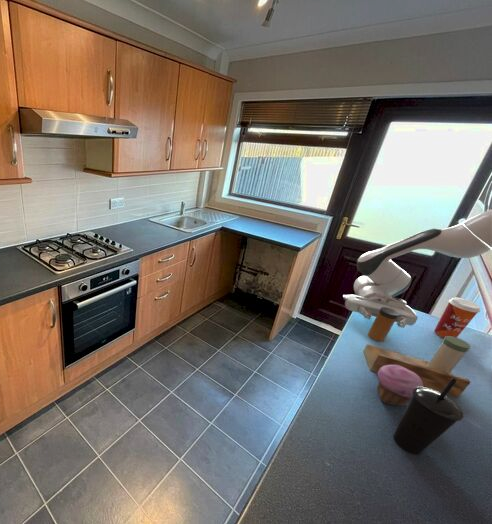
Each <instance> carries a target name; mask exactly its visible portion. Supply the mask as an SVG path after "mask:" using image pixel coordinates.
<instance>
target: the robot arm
mask: <svg viewBox="0 0 492 524" xmlns="http://www.w3.org/2000/svg"><path fill="white" fill-rule="evenodd" d="M416 250H428V251H433V252H436V253H439V254H442V255H445V256H447V257H452V258H456V259H470V258H476V257H478V256H481V255H484V254H485V253H488V252H490V251H492V208H491V209H488V210H486V211H484V212H481V213H479V214H477V215H474V216H472V217H470V218H468V219H466V220H464V221H462V222H461V223H458V224H455V225H453V226H451V227H450V226H449V227H447V228H441V229H438V228H429V229H426V230H423V231H420V232H417V233H414V234H412V235H408V236H406V237H405V238H402V239H400V240H397V241H394V242H392V243H390V244H387V245H385V246H382V247H380V248H376V249H373V250H369V251H367V252H365V253H363V254H361V255H360V256H359V257H358V258H357V261H356V270H357V271H358V272H359V273H361V274H362V275H361V276H359V277H358V278H356V279H355V281H354V283H353V292H354V294H351V293H350V294H343V295H342V298H343V300H344V308H345V309H347V310H348V311H351V312H355V313H359V314H360V315H361V316H363V318H364V319H368V320H371V318H372V317H374V318H376V317H377V315H378V313H379V311H380V309H381V308H382V307H386V308H390V309H393V310H395V311H396V312H398V313H399V315H398V317H397V319H396V320H395V322H394V323H396V325H397V328H398V327H399V328H402V329H403V328H405V327H406V326H409V327H412V326H414V325H415V324H416V323H417V321H418V315H417V314H416V312H415V311H414V310H413V308H411V307H410V306H409V305H407V304H408V303H407V301H406V300H404V299H402V298H399V297H397V296H400V295H402V294H403V293H406V291H407V290H408V289H409V288H410V286H411V283H412V276H411V275H410V274H409V273H407V271H405V270H404V269H403V268H401V266H399V265H398V264H396V263H395V262H394V261H393V260H392V259H394V258H397V257H400V256H402V255H405V254H407V253H410V252H413V251H416Z"/></svg>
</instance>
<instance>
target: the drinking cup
mask: <svg viewBox="0 0 492 524" xmlns="http://www.w3.org/2000/svg"><path fill="white" fill-rule="evenodd" d="M456 382H457V380H456V379H453V378H452V380H451V381H450V382H449V384H448V385H447V386H446V388H445V389H444V390H443V392H442V393H441V392H438V391H435V390H433V389H430V388H426V387H416V388H414V389H413V392H412V393H413V395H412V397H411V399H410V401H409V403H407V406H406V408H405V410H404V412H403V414H402V416H401V418H400V420H399V423H398V424H397V426H396V429H395V431H394V433H393V435H392V438H393V440H394V442H395V443H396V444H397V446H398V447H400V448H401V449H402V450H404V451H405V452H407V453H409V454H411V455H420V454H421V453H422V452H423V451H425V450H426V449H427V448H428V447H430V445H431V444H433V443H434V442H435V441H436V440H437V439H438V438H440V436H442V435H443V434H444V433H445V432H446V431H447V430H448V429H449V428H451V427H452V426H453V425H454V424H455V423H457V422H459V421H462V420H463V419H464V417H465V414H464V411H463V409H462V408H461V406H459V405H458V404H457V403H456V402H455V401H454V400H453V399H451V398H450V397H448V396H447V395H448V394H447V393H448V392H449V391H450V389H451V388H452V387H453V386H454V384H455V383H456Z"/></svg>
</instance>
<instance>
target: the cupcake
mask: <svg viewBox="0 0 492 524" xmlns="http://www.w3.org/2000/svg"><path fill="white" fill-rule="evenodd" d="M377 377H378V383H377V388H376V389H377V394H378V396H379V399H380V401H382V403H385V404H388V405H392V406H396V407H397V406H405V405H408V404H409V401H410V399H411V397H412V395H413V393H412V392H413V389H414V388H416V387H424V386H423V383H422V380H421V379H420V377H419V376H418V375H417V374H415V373H414V372H412V371H410V370H408V369H406V368H404V367H402V366H399V365H385V366H382V367H381V368H380V369H379V371H378V373H377Z"/></svg>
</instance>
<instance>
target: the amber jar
mask: <svg viewBox="0 0 492 524" xmlns="http://www.w3.org/2000/svg"><path fill="white" fill-rule="evenodd" d="M398 315H399V313H398V312H396V311H395V310H393V309H390V308H386V307H382V308H381V309H380V311H379V313H378V315H377V317H375V319H374V321H373V323H372V325H371V327H370V329H369V331H368V333H367V336H368V337H369V338H370V339H372V340H373V341H375V342H380V343H383V342H385V340H386V338H387V336H388V334H389V333H390V331H391V329H392V327H393V325H394V324H395V323H396V322H395V320H396V319H397V317H398Z"/></svg>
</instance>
